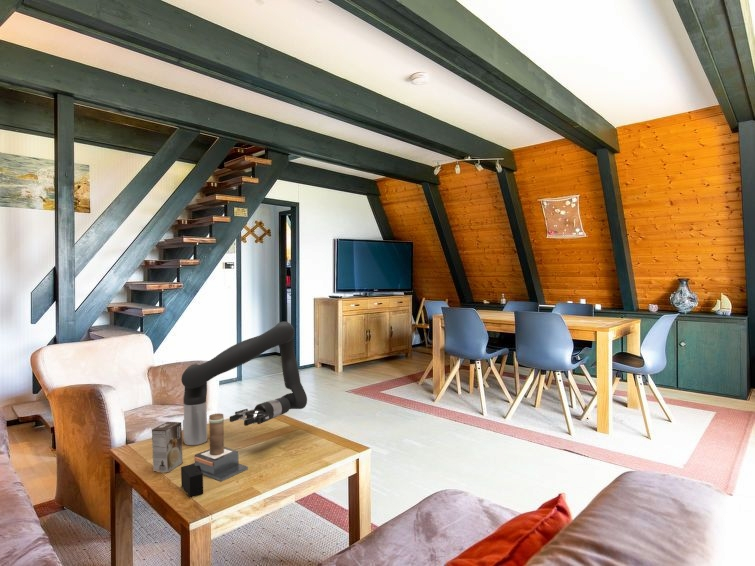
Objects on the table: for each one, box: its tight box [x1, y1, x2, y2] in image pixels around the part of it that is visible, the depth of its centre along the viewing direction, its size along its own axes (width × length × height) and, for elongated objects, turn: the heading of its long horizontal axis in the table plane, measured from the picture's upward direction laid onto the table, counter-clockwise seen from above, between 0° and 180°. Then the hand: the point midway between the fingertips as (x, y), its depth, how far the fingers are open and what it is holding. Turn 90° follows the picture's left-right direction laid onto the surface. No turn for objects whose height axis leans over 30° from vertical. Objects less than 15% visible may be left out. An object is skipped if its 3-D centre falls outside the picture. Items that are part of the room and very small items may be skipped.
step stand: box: [189, 446, 249, 482], centre depth 175 cm, size 20×12×6 cm, turn 57°
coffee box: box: [151, 421, 184, 473], centre depth 176 cm, size 9×6×16 cm
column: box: [208, 413, 225, 455], centre depth 174 cm, size 5×5×14 cm
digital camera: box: [180, 463, 204, 498], centre depth 158 cm, size 10×5×7 cm, turn 38°
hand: (237, 421), depth 182 cm, fingers open, 8 cm apart
